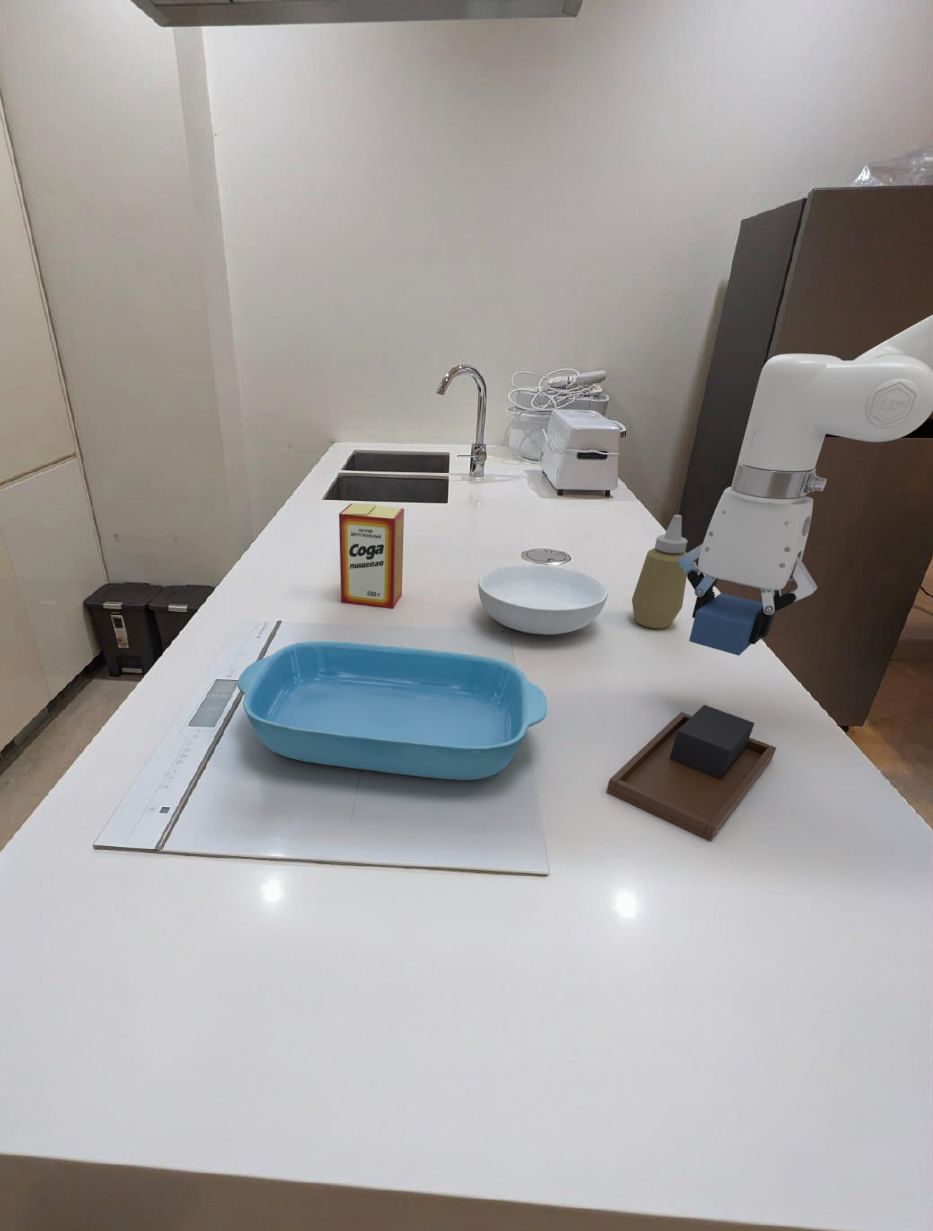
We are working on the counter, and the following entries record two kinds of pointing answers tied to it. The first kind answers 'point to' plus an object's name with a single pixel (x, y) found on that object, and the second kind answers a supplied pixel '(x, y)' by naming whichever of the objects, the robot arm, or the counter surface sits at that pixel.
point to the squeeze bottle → (661, 580)
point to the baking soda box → (371, 554)
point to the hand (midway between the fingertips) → (727, 631)
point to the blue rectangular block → (725, 623)
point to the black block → (711, 741)
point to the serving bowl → (541, 597)
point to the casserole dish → (391, 708)
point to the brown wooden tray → (687, 783)
